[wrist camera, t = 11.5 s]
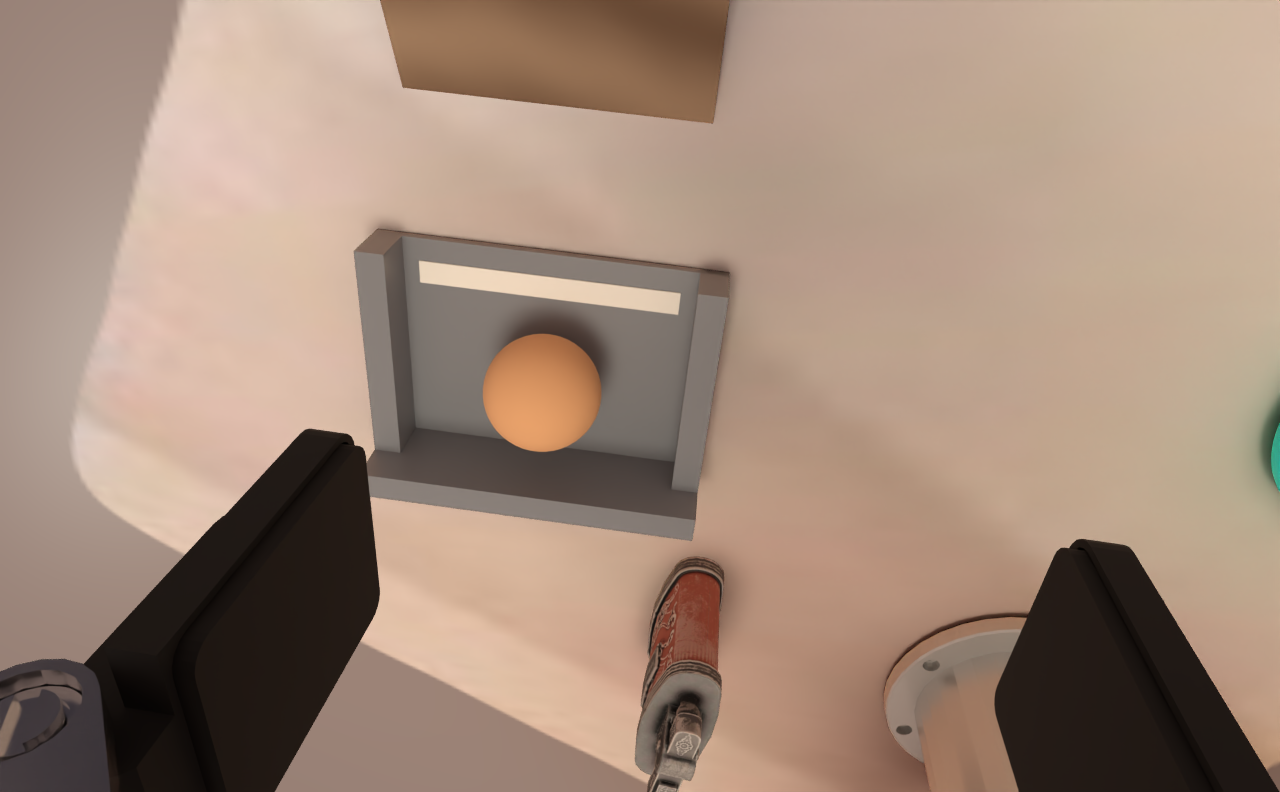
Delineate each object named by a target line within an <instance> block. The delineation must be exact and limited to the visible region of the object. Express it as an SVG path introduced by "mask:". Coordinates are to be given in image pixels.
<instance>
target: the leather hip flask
mask: <svg viewBox="0 0 1280 792" xmlns="http://www.w3.org/2000/svg"><path fill="white" fill-rule="evenodd" d="M723 590H724V573H723V570H722V568H721V567H720V565H718V564H717V563H715V562H714V561H712V560H709V559H707V558H702V557H689V558H686V559H683V560H681V561H680V562H679V563H678V564H677V565H676V566H675V568H674V569H673V571H672V572H671V574H670V575H669V577H668V578H667V580H666V581H665V583H664V585H663V587H662V589H661V591H660V593H659V596H658V598H657V600H656V602H655V606H654V610H653V614H652V618H651V622H650V630H649V641H648V657H649V659H650V661H649V663H648V666H647V670H646V674H645V678H644V682H643V690H642V698H641V707H642V712H641V716H640V720H639V724H638V728H637V736H636V748H635V763H636V765H637V766H638V768H639V769H640V770H642V771H643V772H645V773H647V774H649V775H651V777H650V779H649V781H648V787H647V792H678V791H679V788H680V786H681V784H682V782H683V780H688V781H691V779H692V777H693V775H694V771H695V767H696V761H697V760H698V758H699V756H700V754H701V753H702V751H703V749H704V748H705V746H706V744H707V743H708V741H709V739H710V738H711V735H712V732H713V729H714V726H715V724H716V721H717V718H718V713H719V707H720V700H721V686H722V680H721V675H720V674H719V672H718V638H719V614H720V610H721V605H722V597H723Z"/></svg>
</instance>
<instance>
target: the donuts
mask: <svg viewBox="0 0 1280 792" xmlns="http://www.w3.org/2000/svg"><path fill="white" fill-rule="evenodd" d="M1271 467H1272V473H1273V477H1274V480H1275V483H1276V485H1277V488H1278V490H1279V492H1280V424H1279V426H1278V428H1277V431H1276V434H1275V437H1274V440H1273V445H1272V452H1271Z"/></svg>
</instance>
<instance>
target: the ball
mask: <svg viewBox="0 0 1280 792" xmlns="http://www.w3.org/2000/svg"><path fill="white" fill-rule="evenodd" d="M483 402H484V407H485V411H486V413H487V416H488V418H489V420H490V422H491V424H492V425H493V427H494V428H495V429H496V431H497V432H498V433H499V434H500V435H501V436H502V437H503V438H505V439H506V440H507V441H509V442H510V443H512V444H514V445H515V446H518V447H520V448H522V449H526V450H530V451H537V452H548V451H555V450H558V449H562V448H564V447H567V446H569V445H571V444H572V443H574V442H576V441H577V440H578V439H580V438H581V437H582V436H583V435H584V434H585V433H586V432H587V431H588V429H589V428H590V427H591V426H592V424H593V422H594V420H595V419H596V416H597V414H598V411H599V408H600V403H601V382H600V378H599V374H598V372H597V369H596V367H595V365H594V363H593V362H592V360H591V359H590V357H589V356H588V355H587V354H586V353H585V352H584V351H583V350H582V349H581V348H580V347H579V346H577V345H576V344H575V343H573V342H571V341H570V340H568V339H565V338H563V337H560V336H556V335H552V334H533V335H528V336H524V337H521V338H519V339H517V340H515V341H513V342H511V343H509V344H508V345H507V346H505V347H504V348H503V349H502V350H501V351H500V352H499V353H498V354H497V355H496V356H495V358H494V359H493V360H492V362H491V364H490V365H489V368H488V370H487V372H486V375H485V379H484V384H483Z"/></svg>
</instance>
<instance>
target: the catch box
mask: <svg viewBox="0 0 1280 792" xmlns="http://www.w3.org/2000/svg"><path fill="white" fill-rule="evenodd" d="M354 259H355V268H356V277H357V286H358V296H359V305H360V314H361V323H362V333H363V342H364V351H365V360H366V370H367V379H368V388H369V398H370V407H371V416H372V425H373V435H374V444H375V450H374V452H373V454H372V455H371V457H370V458H369V460H368V461H367V463H366V464H367V473H368V483H369V492H370V497H376V498H383V499H391V500H398V501H405V502H412V503H420V504H427V505H434V506H441V507H449V508H456V509H463V510H471V511H478V512H485V513H492V514H500V515H507V516H514V517H521V518H529V519H536V520H543V521H551V522H558V523H565V524H572V525H580V526H587V527H594V528H601V529H609V530H616V531H623V532H631V533H638V534H645V535H652V536H660V537H667V538H674V539H681V540H689V541H692V539H693V533H694V526H695V520H696V506H697V492H698V486H699V480H700V474H701V468H702V461H703V455H704V449H705V443H706V437H707V430H708V424H709V418H710V412H711V406H712V399H713V393H714V387H715V381H716V375H717V368H718V362H719V356H720V350H721V344H722V337H723V331H724V325H725V319H726V313H727V306H728V300H729V274H730V273H729V272H721V271H713V270H705V269H697V268H689V267H681V266H672V265H664V264H656V263H648V262H640V261H632V260H624V259H616V258H608V257H600V256H591V255H583V254H575V253H567V252H559V251H551V250H543V249H535V248H527V247H519V246H511V245H502V244H494V243H486V242H478V241H470V240H462V239H454V238H446V237H438V236H430V235H421V234H413V233H405V232H397V231H389V230H381V229H377V230H376V231H375V232H374V233H373V234H372V235H370V236H369V237H368V238H367V239H366V240H365V241H364V242H363V243H362V244H361V245H360V246H359V247H358V248H357V249H356V250H354ZM533 334H552V335H556V336H560V337H563V338H565V339H568V340H570V341H571V342H573V343H575V344H576V345H577V346H579V347H580V348H581V349H582V350H583V351H584V352H585V353H586V354H587V355H588V356H589V357H590V359H591V360H592V362H593V363H594V365H595V367H596V369H597V372H598V374H599V378H600V382H601V403H600V408H599V411H598V414H597V416H596V419H595V420H594V422H593V424H592V426H591V427H590V428H589V429H588V431H587V432H586V433H585V434H584V435H583V436H582V437H581V438H580V439H578V440H577V441H576V442H574V443H572V444H571V445H569V446H567V447H564V448H562V449H558V450H555V451H548V452H537V451H530V450H526V449H522V448H520V447H518V446H515V445H514V444H512V443H510V442H509V441H507V440H506V439H505V438H503V437H502V436H501V435H500V434H499V433H498V432H497V431H496V429H495V428H494V427H493V425H492V424H491V422H490V420H489V418H488V416H487V413H486V411H485V407H484V402H483V384H484V379H485V375H486V372H487V370H488V368H489V365H490V364H491V362H492V360H493V359H494V358H495V356H496V355H497V354H498V353H499V352H500V351H501V350H502V349H503V348H504V347H505V346H507V345H508V344H509V343H511V342H513V341H515V340H517V339H519V338H521V337H524V336H528V335H533Z"/></svg>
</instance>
